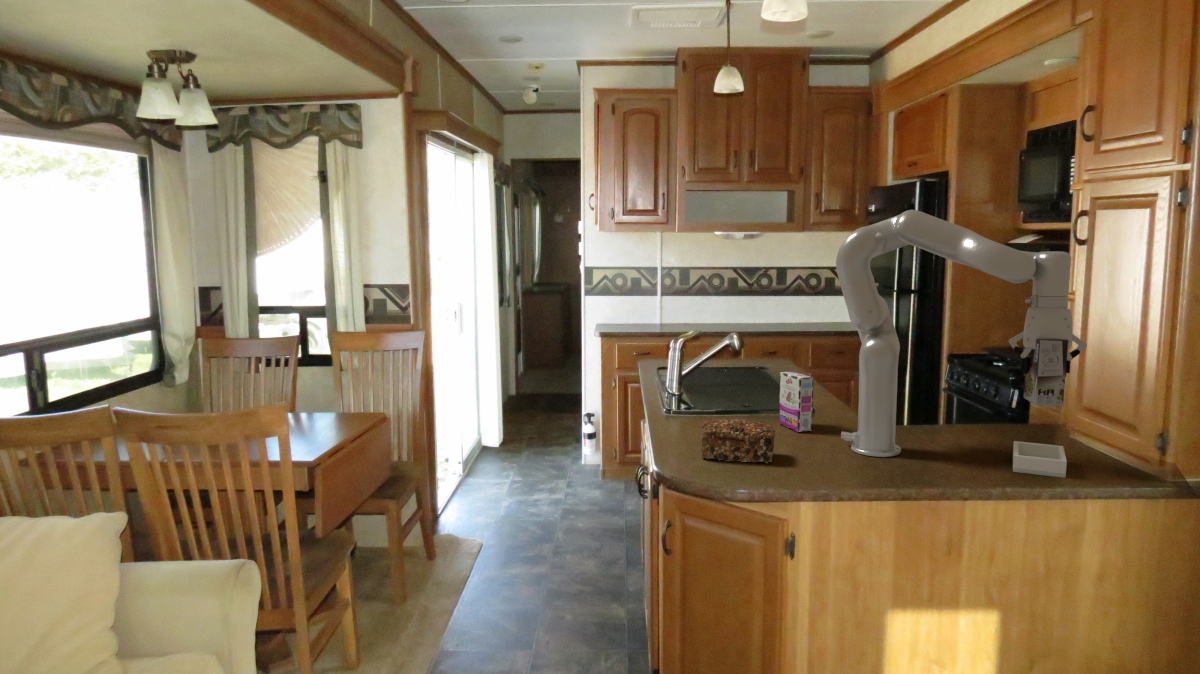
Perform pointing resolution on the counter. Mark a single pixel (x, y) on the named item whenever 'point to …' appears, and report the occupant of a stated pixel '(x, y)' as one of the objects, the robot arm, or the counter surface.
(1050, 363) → the coffee box
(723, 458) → the bread
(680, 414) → the counter surface
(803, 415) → the candy bar box
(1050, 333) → the robot arm
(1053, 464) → the holder
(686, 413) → the counter surface
